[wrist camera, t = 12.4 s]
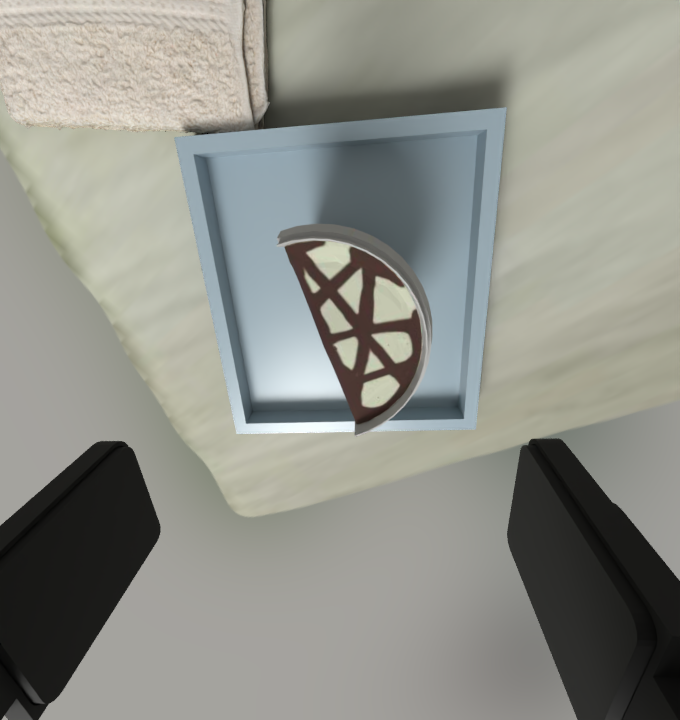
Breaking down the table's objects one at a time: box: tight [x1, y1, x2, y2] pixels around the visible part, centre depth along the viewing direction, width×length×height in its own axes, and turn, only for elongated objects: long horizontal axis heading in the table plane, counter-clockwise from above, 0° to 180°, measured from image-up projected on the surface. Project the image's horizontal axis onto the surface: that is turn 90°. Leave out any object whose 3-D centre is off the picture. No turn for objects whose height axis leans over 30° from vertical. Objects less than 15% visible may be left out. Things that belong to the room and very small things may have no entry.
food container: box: [276, 224, 433, 437], centre depth 23 cm, size 12×6×10 cm, turn 20°
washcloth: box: [0, 0, 270, 134], centre depth 22 cm, size 12×18×3 cm, turn 88°
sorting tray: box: [174, 107, 507, 434], centre depth 27 cm, size 20×22×3 cm
